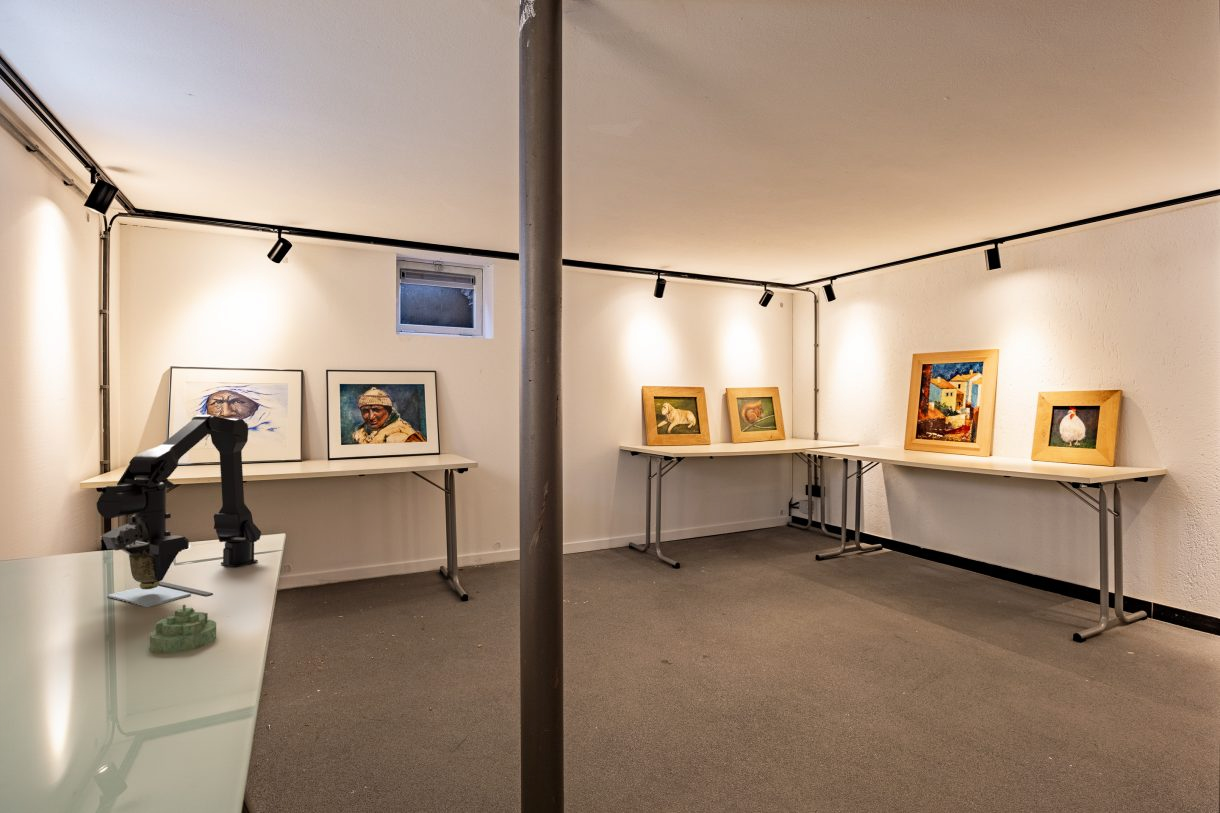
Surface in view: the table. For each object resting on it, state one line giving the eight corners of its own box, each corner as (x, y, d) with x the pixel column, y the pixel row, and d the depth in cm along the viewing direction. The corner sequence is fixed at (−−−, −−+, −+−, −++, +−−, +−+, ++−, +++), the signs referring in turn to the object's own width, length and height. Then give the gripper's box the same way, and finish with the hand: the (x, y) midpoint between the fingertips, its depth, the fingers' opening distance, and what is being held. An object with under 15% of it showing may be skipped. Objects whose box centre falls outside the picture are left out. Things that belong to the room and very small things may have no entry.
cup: (178, 583, 140) (178, 549, 140) (151, 593, 132) (151, 557, 132) (148, 582, 140) (148, 548, 140) (119, 592, 133) (120, 556, 133)
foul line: (155, 581, 147) (155, 580, 147) (212, 594, 138) (212, 593, 138) (148, 583, 146) (148, 581, 146) (206, 596, 137) (206, 594, 137)
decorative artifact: (167, 634, 115) (137, 655, 105) (167, 597, 115) (137, 615, 105) (225, 631, 117) (201, 652, 107) (225, 595, 117) (201, 612, 107)
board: (151, 586, 144) (151, 584, 144) (190, 595, 137) (190, 593, 137) (107, 597, 135) (107, 594, 135) (147, 607, 129) (147, 605, 129)
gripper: (84, 512, 133) (84, 582, 133) (134, 520, 125) (133, 595, 125) (141, 504, 143) (140, 570, 143) (190, 511, 135) (189, 581, 135)
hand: (150, 578), depth 136 cm, fingers closed on cup, 6 cm apart
